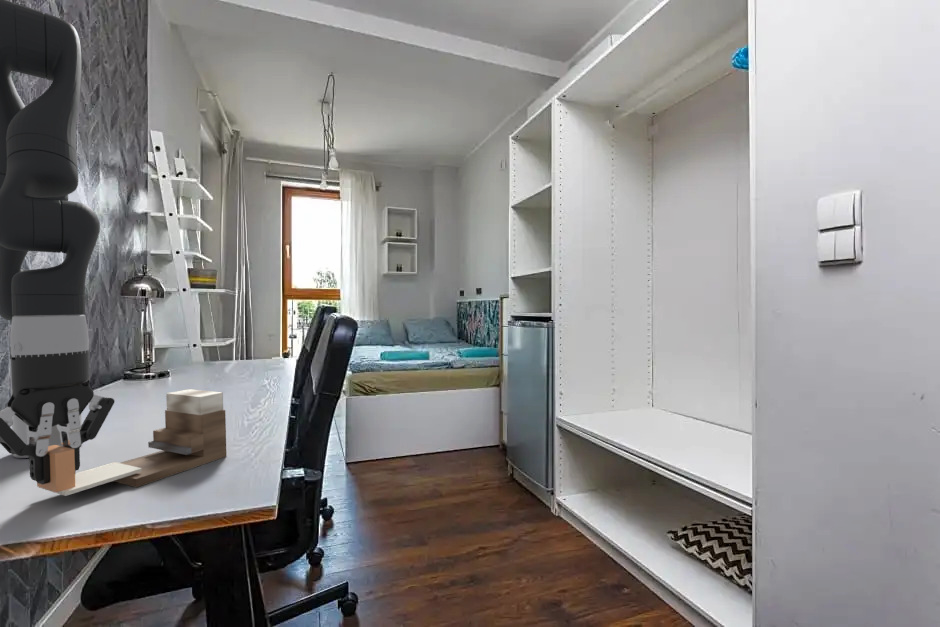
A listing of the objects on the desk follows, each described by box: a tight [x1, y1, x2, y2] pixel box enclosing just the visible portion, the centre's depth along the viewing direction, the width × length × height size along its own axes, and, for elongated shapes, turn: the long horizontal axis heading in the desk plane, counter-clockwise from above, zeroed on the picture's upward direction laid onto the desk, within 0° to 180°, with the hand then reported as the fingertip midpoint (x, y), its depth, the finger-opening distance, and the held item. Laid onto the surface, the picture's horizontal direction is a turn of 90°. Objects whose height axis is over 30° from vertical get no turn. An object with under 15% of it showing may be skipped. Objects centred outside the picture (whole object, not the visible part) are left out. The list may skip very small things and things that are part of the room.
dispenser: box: [113, 388, 228, 488], centre depth 71 cm, size 10×14×11 cm
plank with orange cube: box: [36, 445, 142, 497], centre depth 62 cm, size 7×10×6 cm
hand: (55, 478), depth 59 cm, fingers closed on plank with orange cube, 2 cm apart
